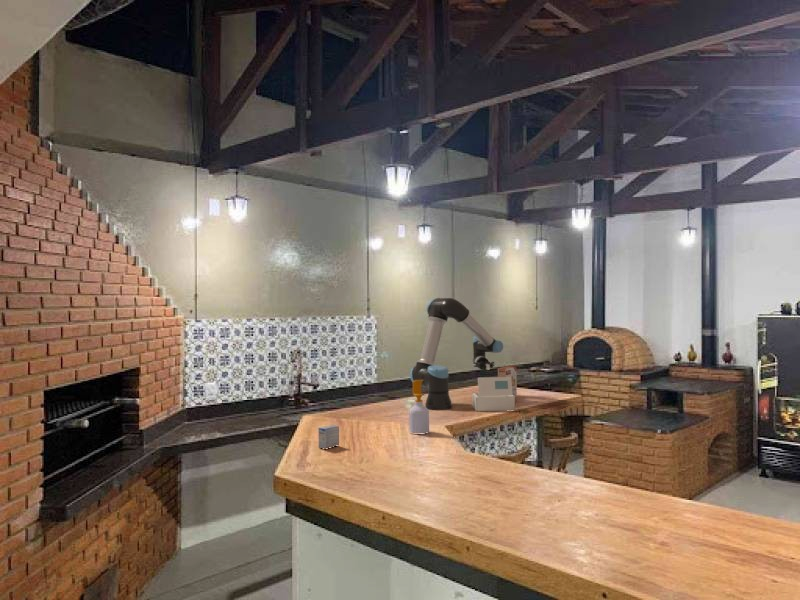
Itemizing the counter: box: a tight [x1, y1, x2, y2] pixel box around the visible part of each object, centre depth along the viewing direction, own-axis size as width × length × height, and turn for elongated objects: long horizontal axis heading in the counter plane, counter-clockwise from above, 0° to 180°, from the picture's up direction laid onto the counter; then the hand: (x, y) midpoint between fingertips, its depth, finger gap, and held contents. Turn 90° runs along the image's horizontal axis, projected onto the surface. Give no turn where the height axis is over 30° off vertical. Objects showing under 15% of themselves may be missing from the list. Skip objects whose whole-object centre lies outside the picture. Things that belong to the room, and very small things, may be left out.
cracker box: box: [497, 365, 518, 402], centre depth 342 cm, size 14×6×21 cm, turn 143°
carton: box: [471, 391, 516, 412], centre depth 323 cm, size 21×17×8 cm
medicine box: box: [317, 424, 340, 449], centre depth 242 cm, size 8×4×9 cm, turn 141°
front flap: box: [477, 376, 513, 396], centre depth 316 cm, size 18×10×1 cm
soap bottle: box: [408, 380, 430, 433], centre depth 266 cm, size 9×9×25 cm
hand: (488, 367), depth 332 cm, fingers closed
